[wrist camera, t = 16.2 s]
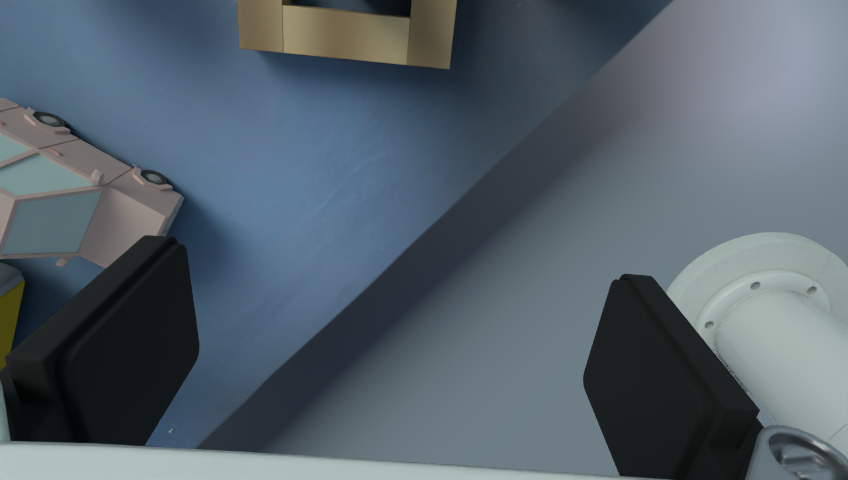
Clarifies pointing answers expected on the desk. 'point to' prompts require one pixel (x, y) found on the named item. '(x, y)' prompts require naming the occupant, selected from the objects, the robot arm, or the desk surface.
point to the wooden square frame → (351, 32)
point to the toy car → (72, 194)
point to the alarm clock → (9, 306)
